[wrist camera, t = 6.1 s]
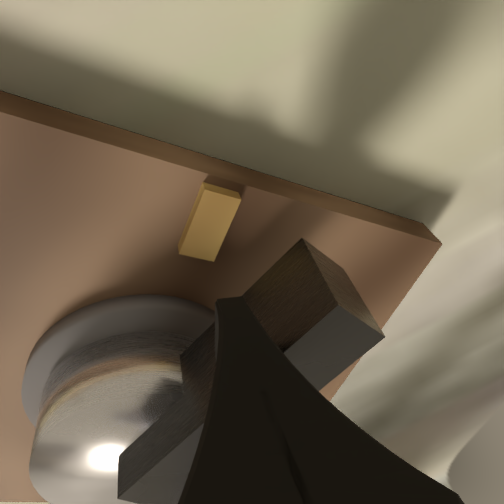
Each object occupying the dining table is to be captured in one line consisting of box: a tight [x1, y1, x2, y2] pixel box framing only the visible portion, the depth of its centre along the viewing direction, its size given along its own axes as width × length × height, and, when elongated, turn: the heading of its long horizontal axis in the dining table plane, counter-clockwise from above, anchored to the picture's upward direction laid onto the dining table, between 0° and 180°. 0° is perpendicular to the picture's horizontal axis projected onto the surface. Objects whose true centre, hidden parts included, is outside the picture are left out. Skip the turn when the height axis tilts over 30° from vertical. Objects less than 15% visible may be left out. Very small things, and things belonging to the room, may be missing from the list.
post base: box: [0, 91, 442, 502], centre depth 19 cm, size 18×18×2 cm
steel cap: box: [29, 238, 385, 504], centre depth 15 cm, size 12×7×4 cm, turn 136°
